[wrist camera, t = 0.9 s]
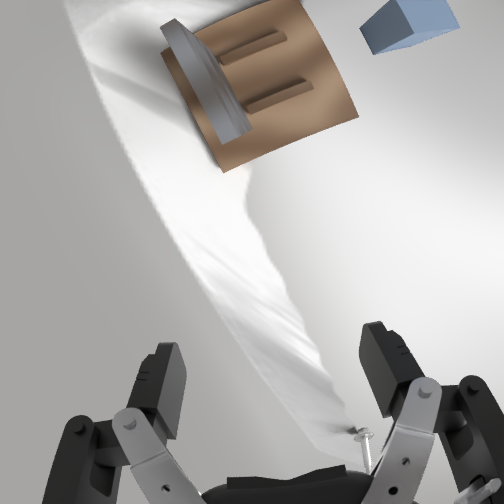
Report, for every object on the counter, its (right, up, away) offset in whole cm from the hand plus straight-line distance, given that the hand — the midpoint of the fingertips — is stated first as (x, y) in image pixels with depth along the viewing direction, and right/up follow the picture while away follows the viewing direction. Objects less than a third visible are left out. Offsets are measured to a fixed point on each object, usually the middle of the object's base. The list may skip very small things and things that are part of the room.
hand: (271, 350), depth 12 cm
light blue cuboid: (+14, +28, +11) cm, 34 cm away
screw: (+25, -38, +44) cm, 63 cm away
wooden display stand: (0, +23, +15) cm, 28 cm away
